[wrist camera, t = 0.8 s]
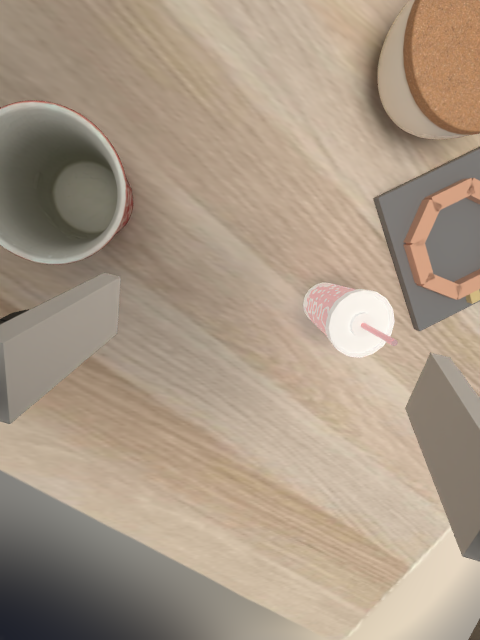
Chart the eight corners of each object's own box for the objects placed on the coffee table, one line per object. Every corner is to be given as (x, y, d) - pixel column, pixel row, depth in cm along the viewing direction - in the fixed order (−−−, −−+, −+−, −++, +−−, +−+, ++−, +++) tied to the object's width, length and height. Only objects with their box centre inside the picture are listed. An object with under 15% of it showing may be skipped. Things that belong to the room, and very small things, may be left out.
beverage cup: (308, 267, 40) (376, 291, 26) (357, 285, 41) (445, 316, 28) (288, 320, 41) (343, 369, 27) (336, 336, 42) (410, 389, 29)
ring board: (373, 198, 39) (384, 197, 37) (490, 141, 39) (507, 137, 37) (414, 328, 44) (426, 334, 42) (517, 277, 44) (534, 279, 42)
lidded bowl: (467, 147, 39) (574, 120, 29) (355, 156, 37) (425, 131, 27) (476, 5, 36) (603, -85, 25) (353, 8, 34) (433, -87, 23)
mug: (164, 203, 36) (158, 194, 23) (96, 268, 36) (53, 294, 23) (59, 87, 32) (-20, -3, 19) (-15, 161, 32) (-142, 122, 19)
